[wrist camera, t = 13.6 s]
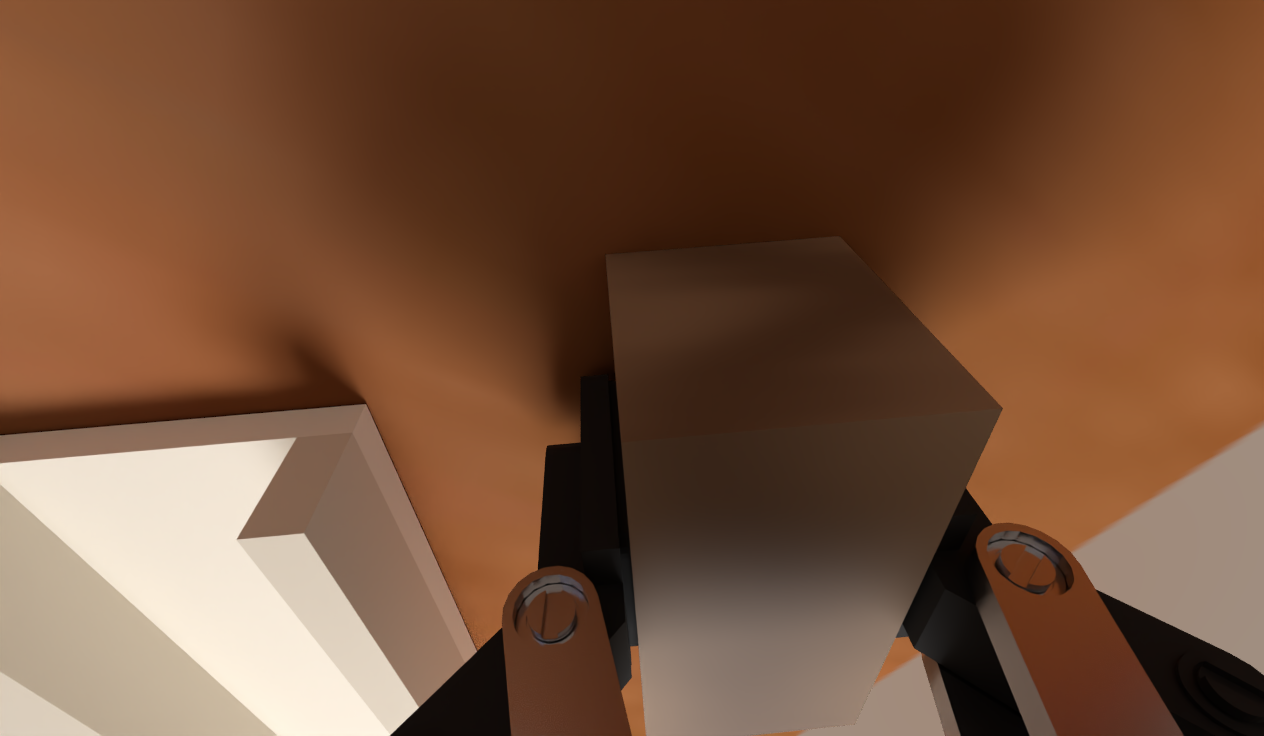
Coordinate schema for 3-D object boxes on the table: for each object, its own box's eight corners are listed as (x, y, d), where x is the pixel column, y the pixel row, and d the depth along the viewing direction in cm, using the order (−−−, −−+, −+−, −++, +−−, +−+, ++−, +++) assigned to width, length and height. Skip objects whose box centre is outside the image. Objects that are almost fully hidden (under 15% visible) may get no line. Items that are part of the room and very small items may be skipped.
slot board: (366, 404, 11) (303, 533, 8) (503, 710, 19) (491, 817, 17) (-520, 479, 10) (-859, 640, 8) (22, 759, 19) (-61, 878, 16)
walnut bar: (839, 235, 9) (1002, 408, 6) (784, 529, 14) (854, 724, 11) (605, 254, 9) (621, 442, 6) (630, 544, 14) (647, 746, 10)
